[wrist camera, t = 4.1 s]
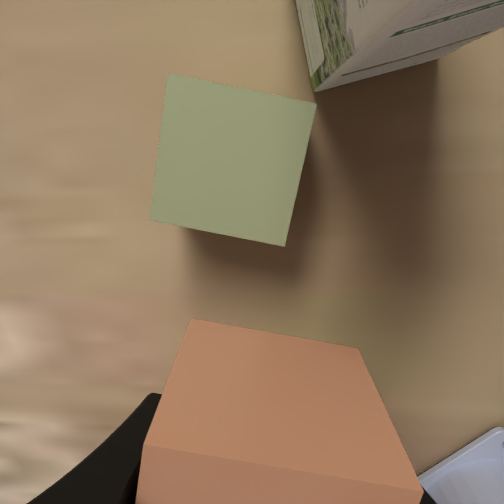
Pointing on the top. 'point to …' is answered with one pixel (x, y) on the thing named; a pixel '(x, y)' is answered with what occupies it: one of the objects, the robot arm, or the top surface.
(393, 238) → the top surface
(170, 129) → the olive block
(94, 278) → the top surface
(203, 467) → the terracotta block
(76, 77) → the top surface
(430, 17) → the syrup box
